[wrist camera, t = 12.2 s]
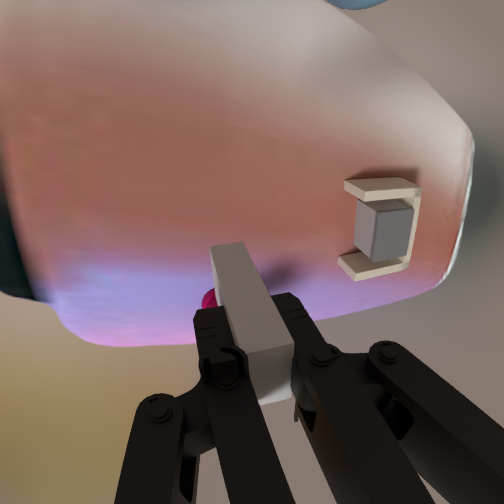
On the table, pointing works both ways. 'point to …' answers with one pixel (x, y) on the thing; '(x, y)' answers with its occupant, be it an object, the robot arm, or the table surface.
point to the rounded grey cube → (383, 228)
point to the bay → (372, 191)
